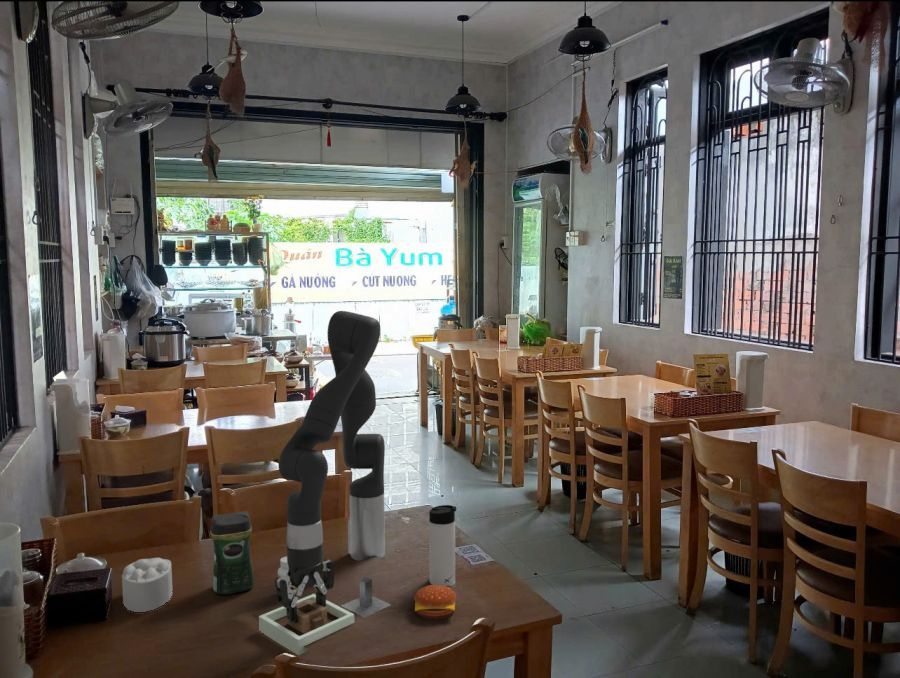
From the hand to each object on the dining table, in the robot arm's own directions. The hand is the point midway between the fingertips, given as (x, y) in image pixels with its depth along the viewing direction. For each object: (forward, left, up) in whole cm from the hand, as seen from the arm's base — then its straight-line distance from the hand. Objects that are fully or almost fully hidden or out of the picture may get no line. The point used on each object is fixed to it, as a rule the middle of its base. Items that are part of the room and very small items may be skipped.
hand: (306, 615), depth 154 cm
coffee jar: (-30, 0, -3) cm, 30 cm away
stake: (+3, +14, -3) cm, 15 cm away
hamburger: (+16, +23, -4) cm, 28 cm away
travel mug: (+7, +35, -3) cm, 36 cm away
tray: (0, 0, -3) cm, 3 cm away
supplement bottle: (-15, +6, -3) cm, 17 cm away
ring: (0, 0, -2) cm, 2 cm away
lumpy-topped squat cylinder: (-39, -17, -4) cm, 43 cm away
